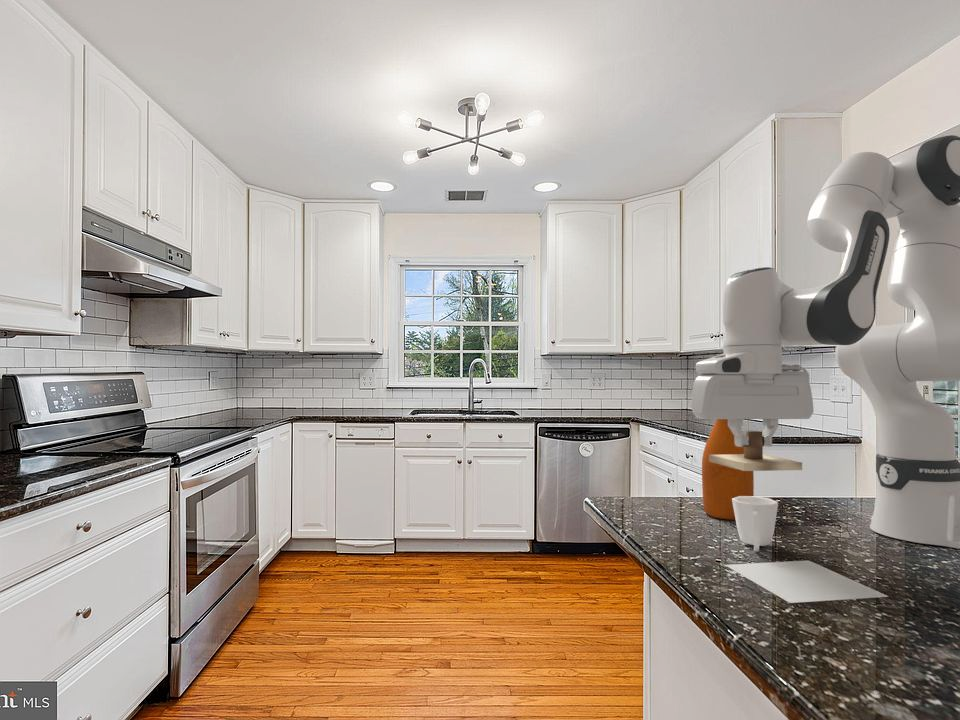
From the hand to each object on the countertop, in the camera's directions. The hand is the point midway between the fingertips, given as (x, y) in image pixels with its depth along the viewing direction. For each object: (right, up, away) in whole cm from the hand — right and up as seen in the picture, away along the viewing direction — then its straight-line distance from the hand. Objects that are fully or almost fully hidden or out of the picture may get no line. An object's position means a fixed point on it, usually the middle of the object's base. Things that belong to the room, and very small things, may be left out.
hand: (753, 446), depth 91 cm
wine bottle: (+6, -18, +22) cm, 30 cm away
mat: (-1, -17, -15) cm, 22 cm away
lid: (0, -3, 0) cm, 3 cm away
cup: (0, -18, -1) cm, 18 cm away
